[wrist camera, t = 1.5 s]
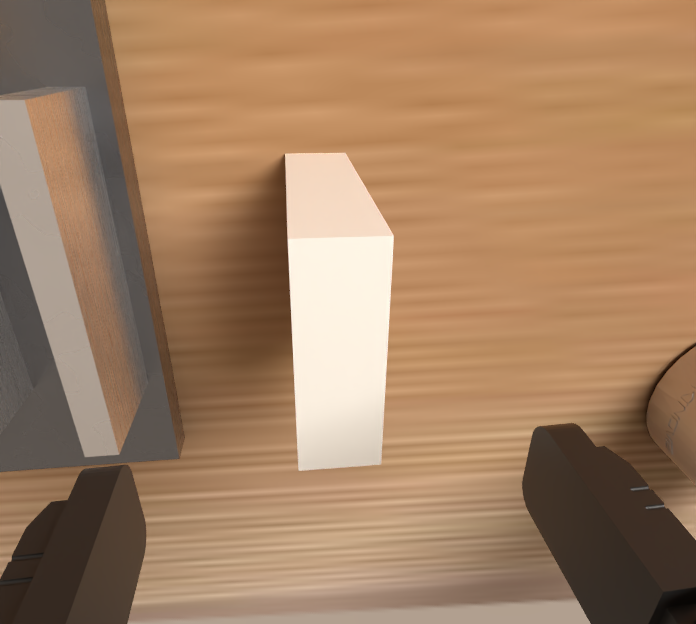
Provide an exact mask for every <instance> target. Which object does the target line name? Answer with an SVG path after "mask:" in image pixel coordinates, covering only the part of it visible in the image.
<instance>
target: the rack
mask: <svg viewBox="0 0 696 624" xmlns="http://www.w3.org/2000/svg"><path fill="white" fill-rule="evenodd" d="M184 438H185V437H184V432H183V426H182V421H181V415H180V410H179V404H178V399H177V393H176V388H175V382H174V377H173V372H172V366H171V361H170V355H169V350H168V344H167V339H166V333H165V328H164V322H163V317H162V311H161V306H160V301H159V295H158V290H157V284H156V279H155V273H154V268H153V262H152V257H151V251H150V246H149V241H148V235H147V230H146V224H145V219H144V213H143V208H142V202H141V197H140V191H139V186H138V180H137V175H136V170H135V164H134V159H133V153H132V148H131V142H130V137H129V131H128V126H127V120H126V115H125V109H124V104H123V99H122V93H121V88H120V82H119V77H118V71H117V66H116V60H115V55H114V49H113V44H112V38H111V33H110V28H109V22H108V17H107V11H106V6H105V0H0V472H3V471H17V470H31V469H45V468H59V467H72V466H86V465H100V464H114V463H127V462H141V461H155V460H169V459H179V458H180V454H181V450H182V446H183V442H184Z"/></svg>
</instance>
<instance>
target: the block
mask: <svg viewBox="0 0 696 624" xmlns="http://www.w3.org/2000/svg"><path fill="white" fill-rule="evenodd" d="M285 165H286V200H287V234H288V257H289V278H290V299H291V321H292V342H293V363H294V384H295V405H296V426H297V447H298V468H299V471H303V470H316V469H329V468H341V467H354V466H367V465H380V464H381V456H382V438H383V420H384V402H385V384H386V366H387V348H388V331H389V313H390V295H391V277H392V259H393V241H394V235H393V234H392V232H391V230H390V229H389V227H388V225H387V223H386V222H385V220H384V218H383V217H382V215H381V213H380V211H379V210H378V208H377V206H376V205H375V203H374V201H373V199H372V198H371V196H370V194H369V193H368V191H367V189H366V187H365V186H364V184H363V182H362V181H361V179H360V177H359V176H358V174H357V172H356V170H355V169H354V167H353V165H352V164H351V162H350V160H349V158H348V157H347V155H346V153H296V154H285Z"/></svg>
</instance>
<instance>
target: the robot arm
mask: <svg viewBox="0 0 696 624" xmlns="http://www.w3.org/2000/svg"><path fill="white" fill-rule="evenodd" d="M647 428H648V430H649V433H650V436H651V438H652V439H653V440H654V441H655V443H656V444H657V445H658V446H659V447H660V448H661V449H662V450H663V451H664V453H665V454H666V455H667V456H668V457H669V458H670V459H671V460H672V461H673V462H674V463H675V464H676V465H677V466H678V467H679V469H680V470H681V471H682V472H683V473H684V474H685V475H686V476H687V477H688V478H689V479H690V480H691V481H692V482H693V483H694V485H695V486H696V346H695V347H694V348H693V349H691V350H690V351H689V352H687V353H686V354H685V355H683V356H682V357H681V358H680V359H679V360H678V361H677V362H676V363H675V364H674V365H673V366H672V367H671V368H670V369H669V370H668V371H667V372H666V373H665V375H664V376H663V378H662V379H661V380H660V382H659V383H658V385H657V386H656V388H655V390H654V392H653V394H652V396H651V399H650V401H649V405H648V410H647ZM522 489H523V496H524V500H525V504H526V507H527V509H528V511H529V513H530V515H531V517H532V519H533V520H534V522H535V524H536V526H537V528H538V529H539V531H540V533H541V535H542V537H543V538H544V540H545V542H546V544H547V546H548V547H549V549H550V551H551V553H552V555H553V556H554V558H555V560H556V562H557V564H558V565H559V567H560V569H561V571H562V573H563V574H564V576H565V578H566V580H567V582H568V583H569V585H570V587H571V589H572V591H573V592H574V594H575V596H576V598H577V600H578V601H579V603H580V605H581V607H582V609H583V610H584V612H585V614H586V616H587V618H588V619H589V621H590V623H591V624H696V540H695V539H694V538H693V537H692V535H691V534H690V533H689V532H688V531H687V530H686V528H685V527H684V526H683V525H682V524H681V523H680V522H679V520H678V519H677V518H676V517H675V516H674V515H673V513H672V512H671V511H670V510H669V509H666V508H665V507H664V503H663V502H662V501H661V499H660V498H659V497H658V496H657V495H656V494H655V492H654V491H653V490H649V487H648V484H647V483H646V482H645V481H644V480H643V479H642V477H641V476H640V475H639V474H638V473H637V472H636V470H635V469H634V468H633V467H632V466H631V465H630V464H629V463H628V462H626V461H625V460H624V459H622V458H621V457H619V456H618V455H616V454H615V453H613V452H612V451H610V450H609V449H608V448H606V447H605V446H603V447H596V446H595V445H594V443H593V442H592V441H591V440H590V439H589V437H588V436H587V435H586V434H585V432H584V431H583V430H582V429H581V428H580V427H579V426H578V425H576V424H574V423H569V424H559V425H548V426H539V427H536V428H535V430H534V432H533V435H532V439H531V444H530V448H529V453H528V457H527V462H526V467H525V471H524V476H523V481H522ZM145 547H146V524H145V518H144V515H143V511H142V507H141V504H140V500H139V496H138V493H137V489H136V486H135V482H134V478H133V475H132V471H131V469H130V467H129V466H128V465H120V466H110V467H99V468H89V469H84V470H83V471H82V472H81V473H80V474H79V476H78V478H77V481H76V483H75V485H74V487H73V490H72V492H71V494H70V496H69V498H68V500H65V501H55V502H51V503H50V504H49V505H48V506H47V507H46V508H45V509H44V510H43V511H42V512H41V513H40V514H39V515H38V516H37V517H36V518H35V519H34V520H33V521H32V522H31V523H30V524H29V525H28V526H27V527H26V529H25V531H24V533H23V535H22V537H21V539H20V541H19V543H18V545H17V547H16V549H15V551H14V553H13V555H12V561H11V562H9V563H8V565H7V567H6V569H5V571H4V573H3V575H2V577H1V579H0V624H127V622H128V618H129V614H130V610H131V606H132V602H133V598H134V594H135V590H136V586H137V582H138V578H139V574H140V570H141V566H142V562H143V558H144V553H145Z"/></svg>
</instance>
